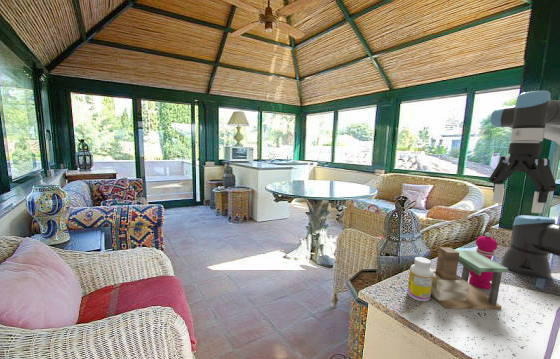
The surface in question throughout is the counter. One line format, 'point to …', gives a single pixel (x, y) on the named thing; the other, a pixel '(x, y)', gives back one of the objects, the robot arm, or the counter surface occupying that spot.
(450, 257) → the walnut peg
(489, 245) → the pepper mill
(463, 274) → the awning station
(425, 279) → the supplement bottle
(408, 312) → the counter surface
